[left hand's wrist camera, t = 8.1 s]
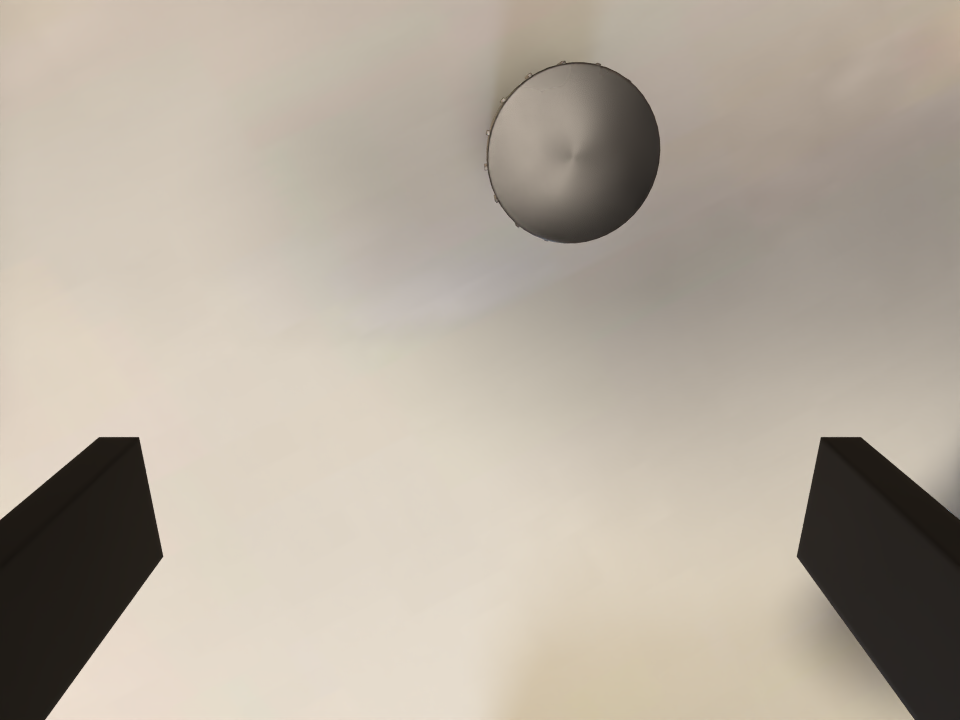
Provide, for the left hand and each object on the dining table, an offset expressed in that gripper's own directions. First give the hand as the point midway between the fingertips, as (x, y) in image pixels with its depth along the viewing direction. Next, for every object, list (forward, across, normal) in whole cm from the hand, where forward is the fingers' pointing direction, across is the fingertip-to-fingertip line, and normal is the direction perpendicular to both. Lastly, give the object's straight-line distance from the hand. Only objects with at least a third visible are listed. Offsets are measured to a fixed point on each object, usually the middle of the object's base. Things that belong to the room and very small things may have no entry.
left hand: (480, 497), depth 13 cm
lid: (+8, +2, +6) cm, 10 cm away
